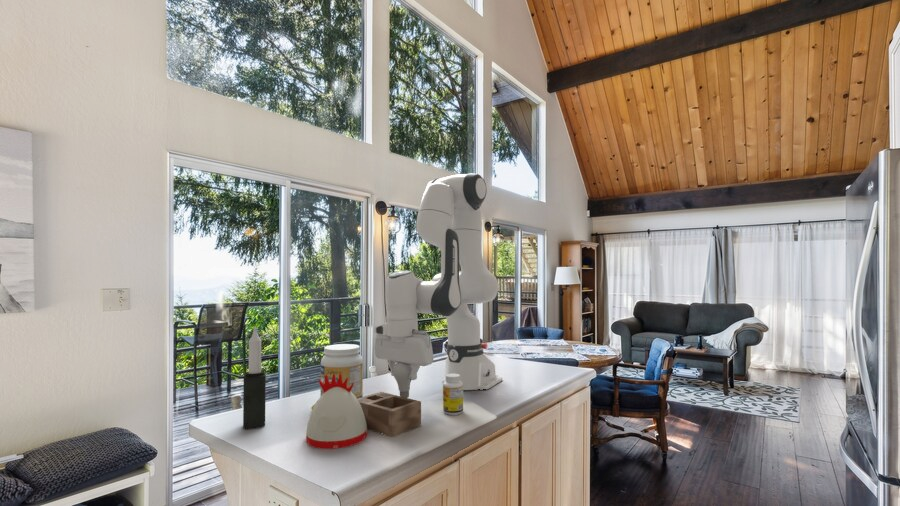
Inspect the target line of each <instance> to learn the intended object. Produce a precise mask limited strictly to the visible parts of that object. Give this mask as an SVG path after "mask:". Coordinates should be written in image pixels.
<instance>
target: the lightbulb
mask: <svg viewBox="0 0 900 506" xmlns="http://www.w3.org/2000/svg"><path fill="white" fill-rule="evenodd" d="M412 369H413V368H411V364H408V363H402V362H397V361H396V363H395V366H394V368H393V376H392V377H393V378H394V380H395V381H396V383H397V387H398V391H399V396H401V397H405V398H409V397H410V390H411V383H412V380H410V379H409V373H411V371H412Z"/></svg>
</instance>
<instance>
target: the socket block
mask: <svg viewBox="0 0 900 506" xmlns="http://www.w3.org/2000/svg"><path fill="white" fill-rule="evenodd" d="M357 400H358V401H359V403H360V405H361V407H362V410H363V413H364V416H365V420H366V424H367V430H369V431H372V432H376V433H378V432H379V434H381V433H383V434H382V435H384V434H385V435H384V436H388V437H391V438H394V437H396V436H398V435H401V434H403V433H406V432H409V431H411V430H413V429H416V428H418V427H420V426H421V427H422V401H421V400H416V399H412V398H409V397H408V398H405V397H401V396H400V395H397V394H393V393H388V392H384V391H378V392H375V393H371V394H368V395H365V396H363V397H361V398H357Z"/></svg>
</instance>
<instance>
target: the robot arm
mask: <svg viewBox="0 0 900 506" xmlns="http://www.w3.org/2000/svg"><path fill="white" fill-rule="evenodd" d="M487 193H488V192H487V184H486V181H485V179H484V177H482V175H480V174H479V173H471V172H468V173H463V174H452V175H448V176H445V177H440V178H435V179H432V180H430V181H428V183H427V184H426V186H425V188H424V192H423V195H422V198H421V200H420V203H419V208H418V212H417V217H416V226H415V227H416V228H415V229H416V232H417V234H418V236H419V237H420V238H421V240H423V241H425V242H426V243H427V244H429V245H432V246H435V247H437V248H438V249H439V251H440V255H441V256H440V258H441V259H440V260H441V261H440V263H441V264H440V273H437V274H435V275H434V276H433V278H432V279H431V280H428V281H427V280H422V279H420V278H419V277H417V276H416V275H415V273H414V271H412V270H407V269H405V270H399V271H393V272H391V273H390V274H389V275H388V276H387V279H386V281H385V282H386V283H385V307H386V308H387V310H386V311H387V314H386V316H385V318H386V319H385V321H386V322H384V323H382V324H379V325H376V326H374V328H373V332H374V334H375V336H374V339H373V340H374V345H373V346H374V354H375V357H376V359H381V360H385V361H386V360H387V365H388V367H389V369H390V376H391V377H394V376H393V368H394V366H395V364H396V363H397V362H402V363H408V364H411V368H413V369H412V371H411V373H409V379H410V380H411V381H416V380H417V379H418V372H419V370H420V368H421V367H427V366H429V365H432V364H433V362H434V351H433V345H432V341H431V338H432V337H431V335H430V334H429V333H428V332H427V331H426V330H419V322H418V317H419V316H418V314H424V315H425V314H426V315H427V314H428V315H437V316H441V317H445V318H446V323H447V324H446V325H447V344H446V355H447V357H446V359H445V366H444V377H443V378H442V383H444V382H445V381H446V375H447V374H459V375H460V381H461V382H462V383H463V391H473V390H475V391H476V390H478V389H480V390H483V389H486V390H489V389H490V388H492V387H494V386H495V385H497V384H499V383H500V382H501V381H503V377H502V376H500V375H497V374H496V365H495V363H494V362H493V361H492V360H491V359H490V358H489V357H487V355H485V354H484V350H487V349H488V344H487V343H484V342H481V323H480V320H479V318H478V316H476V315H474V314H473V312H471V310H470V309H469V306H468V304H477V305H478V304H485V303H488V302H489V303H490V302H493V301H494V300H495V299H496V297H497V295H498V293H499V282H498V278H496V276H495V275H494V274H493V273H492V272H491V271H490V270H489V269H488V267H487V265H486V263H485V261H484V257H483V253H482V242H483V241H482V236H483V234H482V233H483V223H482V212H481V206H482V204H483V202H484V201H485V199H486V196H487ZM480 390H479V391H480Z"/></svg>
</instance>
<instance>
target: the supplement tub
mask: <svg viewBox="0 0 900 506" xmlns="http://www.w3.org/2000/svg"><path fill="white" fill-rule="evenodd" d="M360 347H361V346H360V345H359V344H355V343H353V344H352V343H339V344H331V345H326V346H324V348H323V354H324V356H323V357H322V358H321V360H320V380H321V381H322V382H323V383H325V375H326V374H327V376H328V379H329V382H330V383H331V382H332V377H333V374H334V373H335V378H336V382H338V378H339V374H340V373H341V375H342V381H343V382H345V380H346V378H347V377H348V381H347V387H350V386H351V385H352V383H353V382H354V385H353V387H352V389H351V392H352V393H353V394H354V395H355V397H356V398H361V397H364V396H363V393H364V392H363V384H364V383H363V381H364V380H363V379H364V376H363V375H364V371H363V370H364V363H363V362H364V359H363V357H362V355H361V354H360V353H361V349H360ZM323 393H324V392H323V390H322V388H321V387H320V396H321V395H322V394H323Z"/></svg>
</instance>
